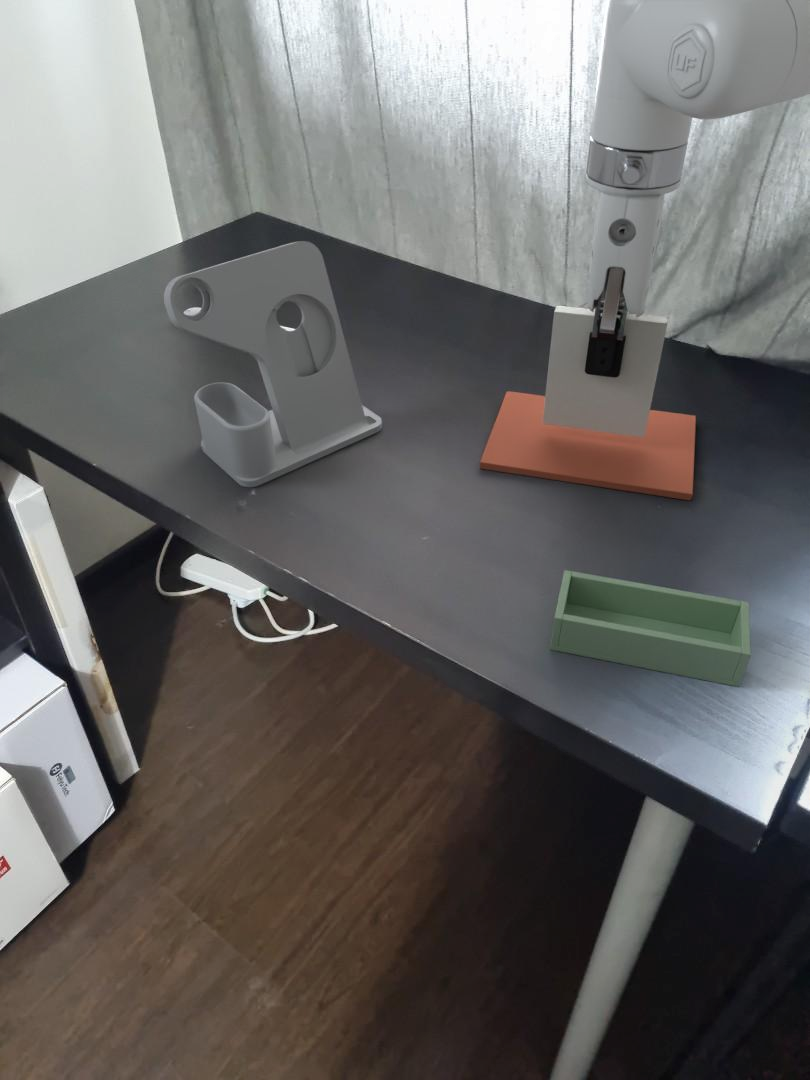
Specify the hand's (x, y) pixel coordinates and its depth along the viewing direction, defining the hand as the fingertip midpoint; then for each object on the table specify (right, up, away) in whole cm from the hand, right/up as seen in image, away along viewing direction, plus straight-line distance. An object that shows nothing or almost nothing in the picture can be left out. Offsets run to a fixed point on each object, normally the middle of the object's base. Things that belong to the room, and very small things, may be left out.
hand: (603, 367), depth 78 cm
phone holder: (-31, -6, +8) cm, 32 cm away
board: (0, -5, +4) cm, 7 cm away
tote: (0, -24, -15) cm, 28 cm away
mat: (0, -7, +6) cm, 9 cm away
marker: (-39, +9, +26) cm, 48 cm away
